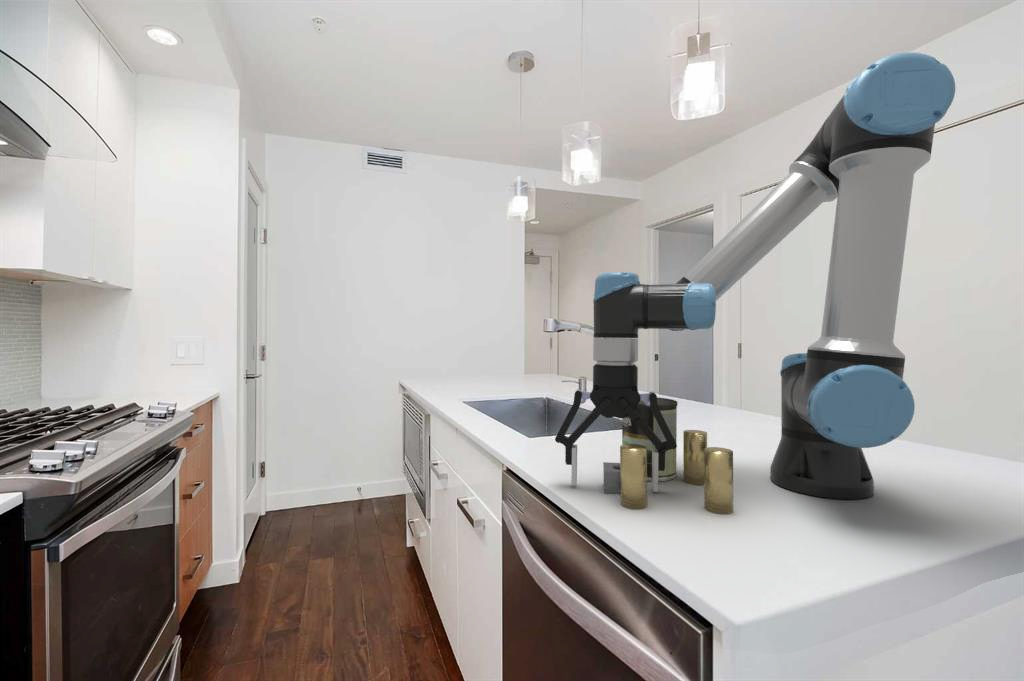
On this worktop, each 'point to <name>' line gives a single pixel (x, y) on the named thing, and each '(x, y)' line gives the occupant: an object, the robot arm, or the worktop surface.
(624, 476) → the brass spacer
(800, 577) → the worktop surface
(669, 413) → the coffee can
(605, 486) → the grey square block
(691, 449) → the brass spacer
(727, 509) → the brass spacer
